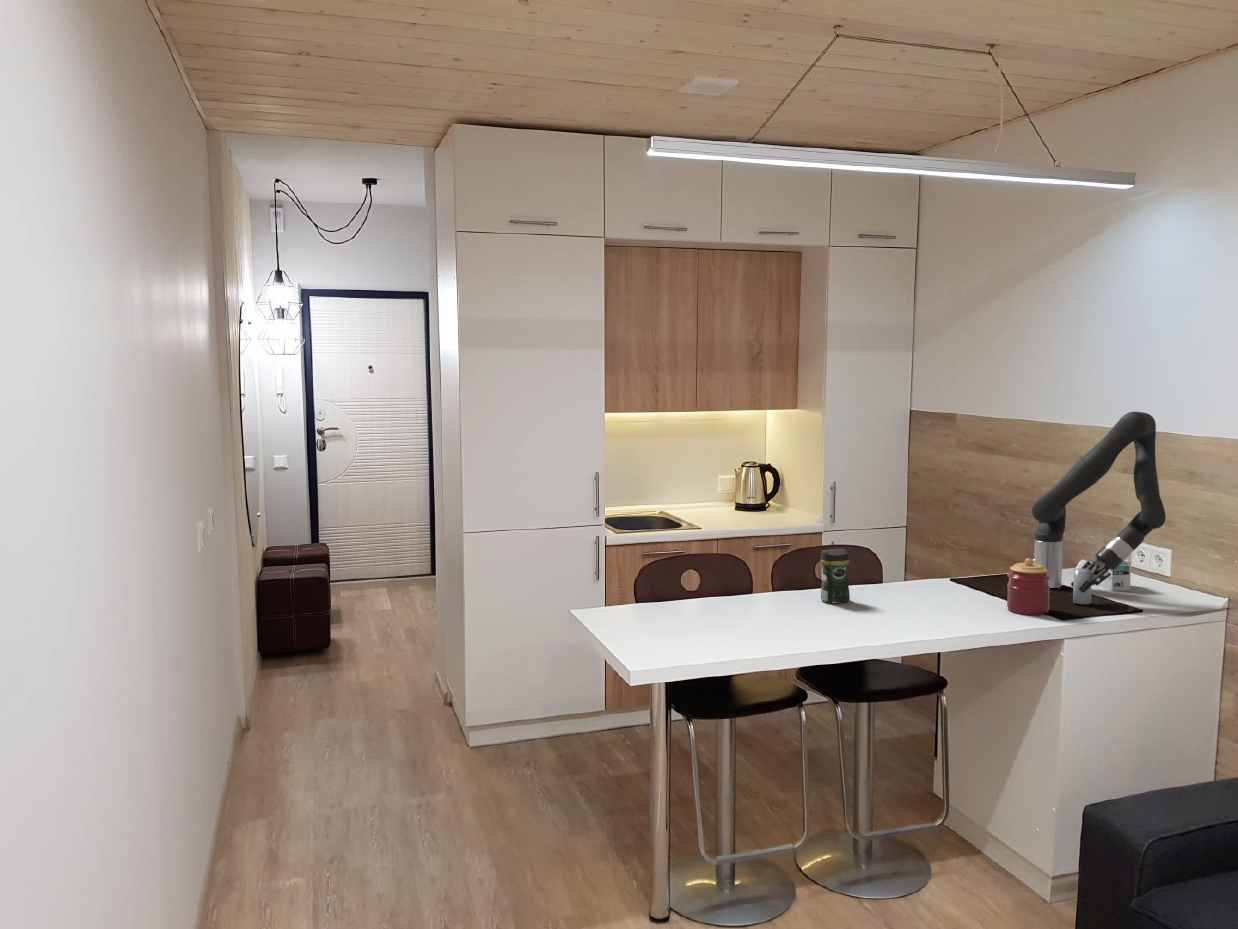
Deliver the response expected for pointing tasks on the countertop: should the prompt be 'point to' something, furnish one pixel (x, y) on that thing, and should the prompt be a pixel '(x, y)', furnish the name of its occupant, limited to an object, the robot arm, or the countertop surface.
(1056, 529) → the robot arm
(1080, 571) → the grey rounded bar
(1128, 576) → the light bulb box
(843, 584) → the coffee jar
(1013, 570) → the canister
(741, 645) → the countertop surface
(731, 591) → the countertop surface
